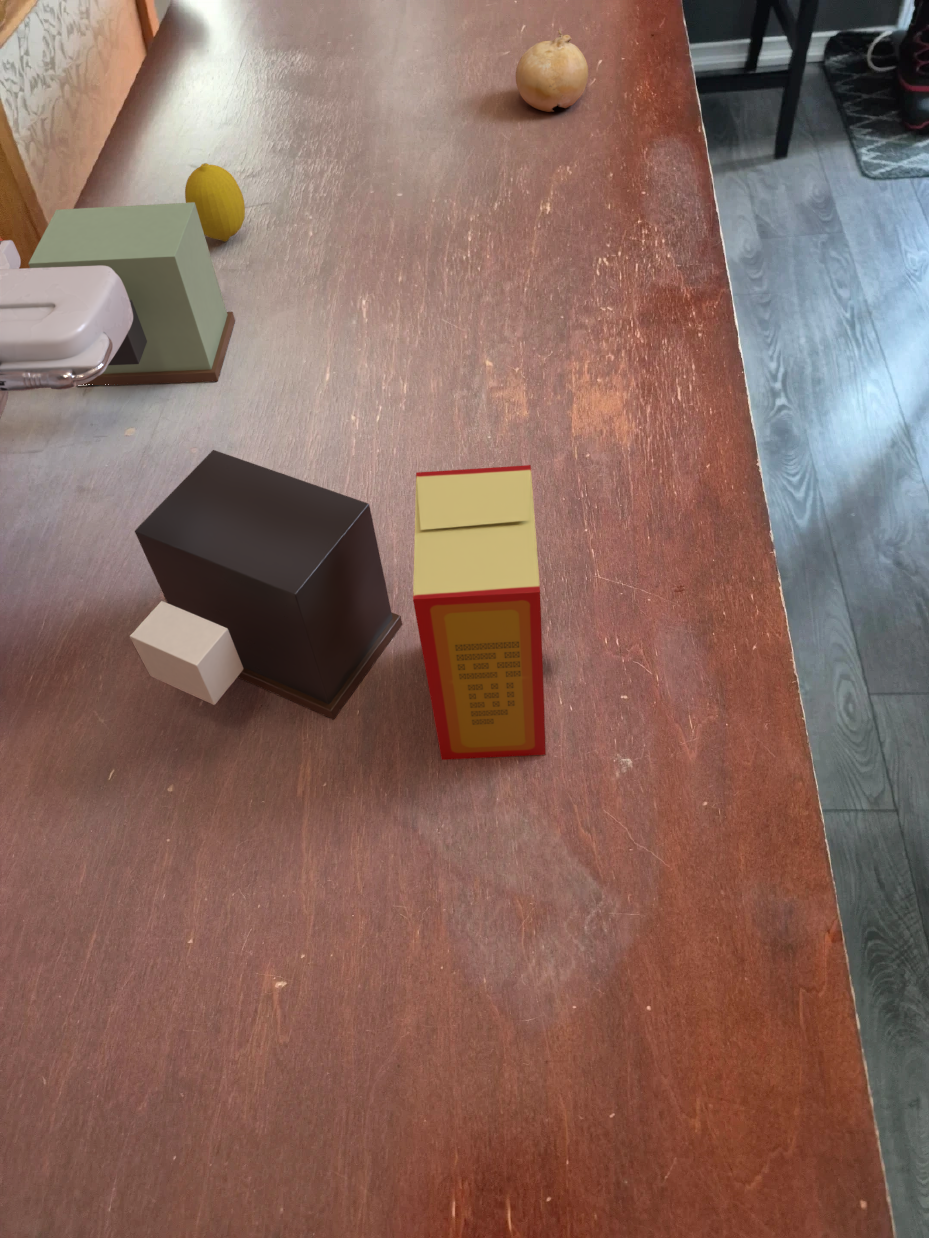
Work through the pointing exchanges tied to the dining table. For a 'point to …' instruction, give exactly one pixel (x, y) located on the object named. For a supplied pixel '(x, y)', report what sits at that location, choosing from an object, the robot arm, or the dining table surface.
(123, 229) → the green key block
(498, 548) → the baking soda box
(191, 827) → the dining table surface
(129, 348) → the dark brown block
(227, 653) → the white rectangular block
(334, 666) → the black key block
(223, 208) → the lemon
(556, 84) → the onion
